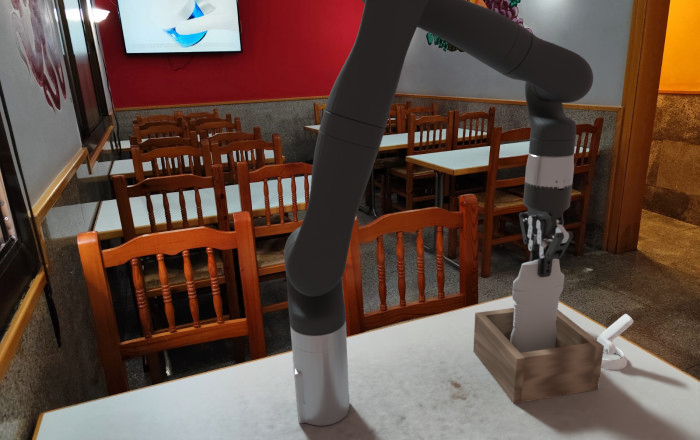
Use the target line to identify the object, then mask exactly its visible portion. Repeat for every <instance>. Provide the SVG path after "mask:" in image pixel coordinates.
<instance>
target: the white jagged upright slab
mask: <svg viewBox="0 0 700 440" xmlns="http://www.w3.org/2000/svg"><path fill="white" fill-rule="evenodd" d="M529 261H530V260H529ZM529 261H527V262H523V263H521V266H520V268H519V273H518V275H517V277H516V278H515V279H514V280H513V282H512V292H511V293H512V295H511V296H512V300H513V301H514V303H513V308H514V309H515V310H514V321H513V326H514V328H513V331H512V333H511V339H510V342H511V343H512V344H513V346H514V347H515V348H516V349H517V350H518V351H519V352H520V353H523V352H530V351H537V350H544V349H551V348H555V344H556V334H557V327H556V320H557V319H556V318H557V310H559V309H558V308H559V303H560V302H559V301H560V296H561V295H562V292H563V290H564V284H565V274H564V273H563V272H562V271H561V266H560V258H553V260H552V269H551V275H550V276H549V277H539V276H538V261H539V259H537V260H534V261H530V262H529Z"/></svg>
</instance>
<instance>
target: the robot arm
mask: <svg viewBox="0 0 700 440" xmlns="http://www.w3.org/2000/svg"><path fill="white" fill-rule="evenodd" d="M361 2H362V3H363V4H364V7H363V11H362V16H361V19H360V25H359V28H358V31H357V35H356V38H355V40H354V44H353V45H352V48H351V50H350V53H349V54H348V56H347V58H346V60H345V62H344V64H343V65H342V67H341V70H340V71H339V74H338V75H337V77H336V79H335V81H334V83H333V86H332V87H331V90H330V92H329V96H328V97H327V100H326V103H325V107H324V110H323V114H322V118H321V120H320V121H321V122H320V125H319V128H318V131H317V136H316V137H317V138H316V141H315V142H316V143H315V147H314V155H313V159H312V160H313V162H312V169H311V181H310V191H309V197H308V202H307V207H306V210H305V214H304V217H303V219H302V222H301V225H300V226H299V227H297V228H296V229H294V230H293V231H292V232H291V234H290V235H289V236H288V238H287V239H286V242H285V245H284V251H283V252H284V254H283V255H284V268H285V269H284V270H285V276H286V277H285V278H286V287H287V288H286V289H287V304H288V316H289V326H290V337H291V338H290V339H291V348H292V349H291V351H292V365H293V366H292V368H293V380H294V390H295V402H296V410H297V419H298V420H297V421H298V424H304V423H306V424H309V425H312V426H316V427H317V426H318V427H319V426H320V427H322V426H331V425H334V424H336V423H338V422H340V421H341V420H343V419H344V418H345V417H346V416H347V415H348V414H349V411H350V391H349V389H350V388H349V387H350V386H349V367H348V365H349V364H348V342H347V341H348V340H347V322H346V321H347V319H346V317H347V316H346V304H345V303H346V302H345V298H344V297H345V295H344V289H343V281H342V280H343V279H342V278H343V277H344V274H345V271H346V266H347V261H348V254H349V250H350V249H349V248H350V245H351V239H352V234H353V230H354V229H353V228H354V226H355V225H354V224H355V221H356V217H357V212H358V210H359V207H360V204H361V202H362V199H363V197H364V194H365V191H366V188H367V186H368V183H369V180H370V177H371V174H372V171H373V168H374V166H375V165H374V164H375V163H376V159H377V156H378V155H379V150H380V148H381V143H382V141H383V137H384V134H385V131H386V128H387V124H388V122H389V121H388V120H389V118H390V113H391V110H392V105H393V102H394V99H395V95H396V93H397V89H398V86H399V81H400V78H401V75H402V71H403V67H404V64H405V60H406V57H407V53H408V51H409V48H410V45H411V42H412V40H413V38H414V35H415V32H416V30H417V28H419V29H421V30H423V31H424V32H427V33H429V34H431V35H434V36H435V37H438V38H439V39H441V40H443V41H445V42H447V43H449V44H450V45H452V46H455V48H458V49H460V51H462V52H464V53H466V54H467V55H470V56H471V57H473V58H474V59H476V60H477V61H479V62H481V63H482V64H484V65H486V66H487V67H489V68H491V69H493V70H494V71H496V72H497V73H500V74H501V75H503V76H505V77H507V78H509V79H512V80H517V81H523V82H525V83H524V84H525V85H524V95H525V102H526V108H527V109H526V110H527V116H528V120H529V125H530V135H529V144H528V145H529V147H528V156H527V160H526V161H527V162H526V166H525V176H524V177H525V178H524V187H523V188H524V189H523V191H524V192H523V199H522V201H523V205H524V206H525V207H526V208H527V211H525V212H519V214H518V218H519V223H520V224H519V225H520V230H521V234H522V241H523V244H524V245H527V248H528V251H529V252H530V253H529V261H528V262H530V261H534V260H537V259H539V261H538V276H539V277H549V276H550V275H551V269H552V260H553V259H560V258H562V257H563V255H564V253H565V252H566V250H567V248H568V247H569V245H570V243H571V242H572V239H573V238H574V234H573V231H567V230H566V229H565V227H564V224H565V222H564V216H563V215H564V212H565V211H566V210H568V209H569V208H570V207H571V199H572V190H573V180H574V174H575V173H574V170H575V161H574V159H575V158H574V157H575V148H576V147H575V146H576V138H577V137H576V136H577V123H576V122H575V120H574V119H572V118H570V117H569V116H567V115H566V114H565V112H564V106H563V104H567V103H569V104H570V103H574V102H577V101H579V100H582V99H583V98H584V97H586V95H587V94H588V93H589V92H590V91H591V89H592V87H593V83H594V73H593V69H592V67H591V65H590V64H589V62H588V61H587V60H586V59H585V58H584V57H583V56H581V55H580V54H578V53H577V52H575V51H572V50H570V49H569V48H566V47H563V46H560V45H557V44H556V43H553V42H550V41H548V40H544V39H542V38H539V37H537V36H536V35H535V34H534V33H532V32H531V31H529V30H528V29H526V28H525V27H523V26H522V25H520V24H519V23H518V22H515V21H514V20H513V19H510V18H509V17H507V16H506V15H504V14H501V13H499V12H498V11H495V10H493V9H490V8H488V7H486V6H485V7H484V6H482V5H480V4H477V3H474V2H472V1H469V0H361ZM547 247H548V248H547Z"/></svg>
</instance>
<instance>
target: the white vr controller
mask: <svg viewBox="0 0 700 440" xmlns="http://www.w3.org/2000/svg"><path fill="white" fill-rule="evenodd" d="M633 324H634V319H633V318H632V317H631V316H630V315H629V314H628V313H624V314H623V315H622V316H620V317H619V318H618V319H616V320H615V321H614V322H613V323H612V324H611V325H609V326H608V327H607V328H606V329H605V330H603V332H602V333H600V335H599V336H598V337H597V339H596V340H597V341H598V342H599V343H601V344H602V345H603V346H604V349H603V354H606V355H611V356H612V355H613V354H616V355H618V356H620V358H617V359H606V358H603V357H602V363H601V369H604V370H610V371H611V370H613V371H615V370H616V371H617V370H622V369H624V368H625V367H626V366H627V365H628V361H627V357H626V356H625V353H624V352H623V351H622V350H621V349H620V348H618V347H617V346H616V345H615V343H614V342H613V341H614V340H615V339H617V337H619V336H620V335H621V334H623V332H625V330H627V329H628V328H629V327H631V326H632V325H633Z"/></svg>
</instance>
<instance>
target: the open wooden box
mask: <svg viewBox="0 0 700 440" xmlns="http://www.w3.org/2000/svg"><path fill="white" fill-rule="evenodd" d="M514 310H515V309H514V307H510V308H509V307H508V308H503V309H501V308H500V309H495V310H494V309H493V310H487V311H479V312H475V313H474V331H473V332H474V334H473V353H474V354H475V356H476V357H477V358H478V359H479V361H480V362H481V363H482V365H484V367H485V369H487V372H489V374H490V375H491V376H492V378H493V379H494V381H495V382H496V383H497V384H498V385H499V387H500V388H501V389H502V391H503V392H504V393H505V394H506V396H507V397H508V399H510V401H511V402H512V404H517V403H522V402H523V403H524V402H529V401H535V400H536V401H537V400H541V399H543V400H544V399H547V398H548V399H549V398H554V397H561V396H567V395H573V394H577V393H578V394H579V393H585V392H591V391H596V390H599V383H600V378H601V377H600V376H601V369H602V368H601V363H602V358H603V356H604V352H603V349H604V346H603V345H602V344H601V343H599V342H598V341H597V339H596V338H594V337H593V336H592V335H591V334H590V333H588V332H587V331H585V329H583V328H582V327H580V326H579V325H578V324H577V323H576V322H574V321H573V320H571V318H569V317H568V316H566V314H564V313H563V312H562V311H560V310H559V309H558V310H557V318H556V319H557V320H556V327H557V334H556V344H555V348H551V349H544V350H537V351H530V352H523V353H520V352H519V351H518V350H517V349H516V348H515V347H514V346H513V344H512V343H511V342H510V339H511V333H512V331H513V328H514V326H513V321H514Z"/></svg>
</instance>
